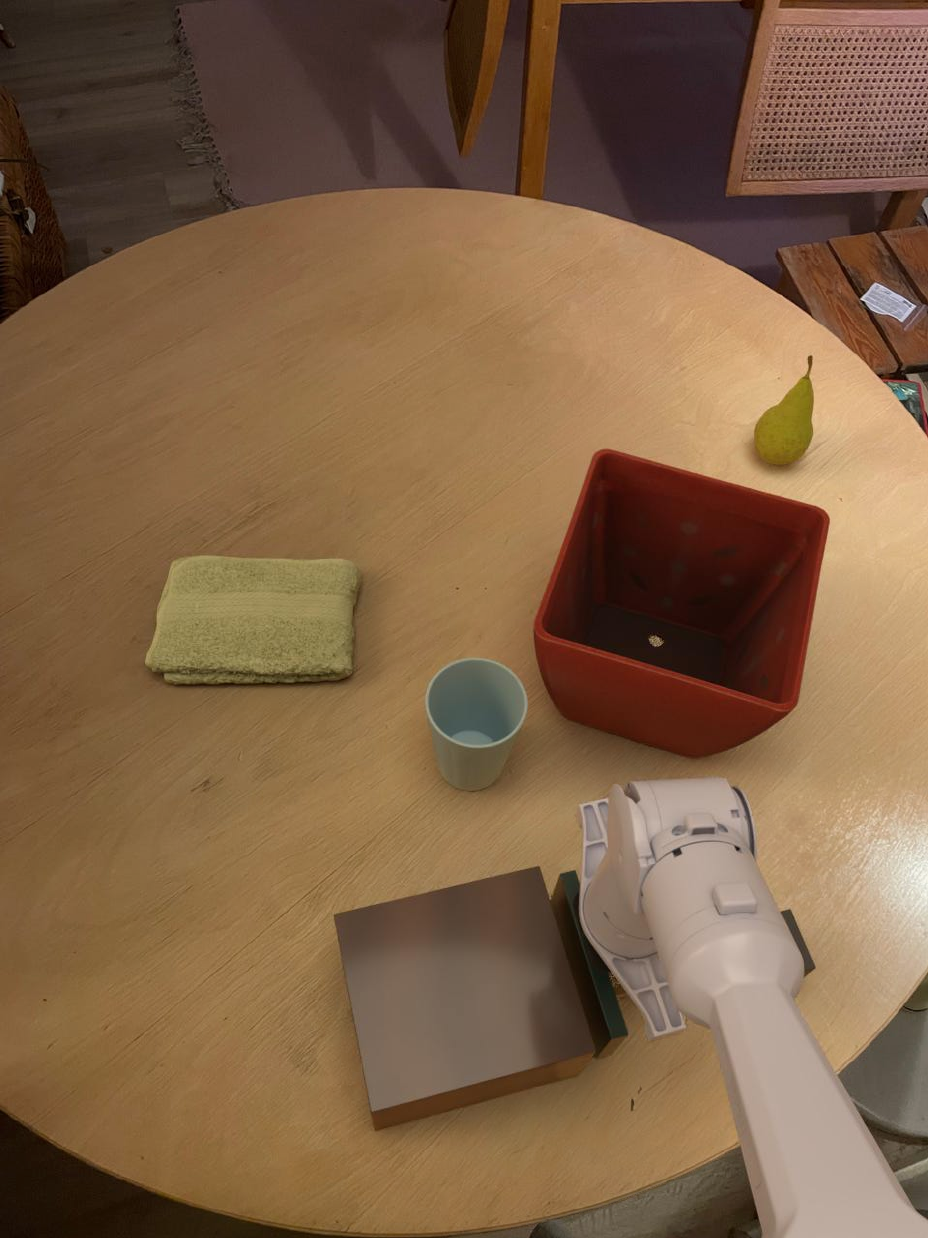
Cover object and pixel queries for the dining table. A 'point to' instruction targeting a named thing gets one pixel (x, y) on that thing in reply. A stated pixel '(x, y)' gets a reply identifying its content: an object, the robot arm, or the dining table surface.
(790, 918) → the block
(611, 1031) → the drawer
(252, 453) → the dining table surface
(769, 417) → the fruit
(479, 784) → the cup
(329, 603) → the washcloth
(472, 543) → the dining table surface
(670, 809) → the robot arm
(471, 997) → the cabinet
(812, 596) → the flower pot
